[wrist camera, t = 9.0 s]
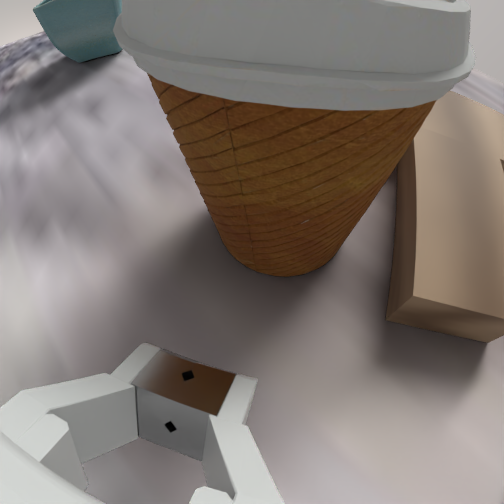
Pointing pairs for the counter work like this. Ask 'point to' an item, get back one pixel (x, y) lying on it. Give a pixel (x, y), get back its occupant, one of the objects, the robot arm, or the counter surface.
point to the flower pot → (81, 26)
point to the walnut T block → (451, 224)
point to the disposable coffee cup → (295, 107)
